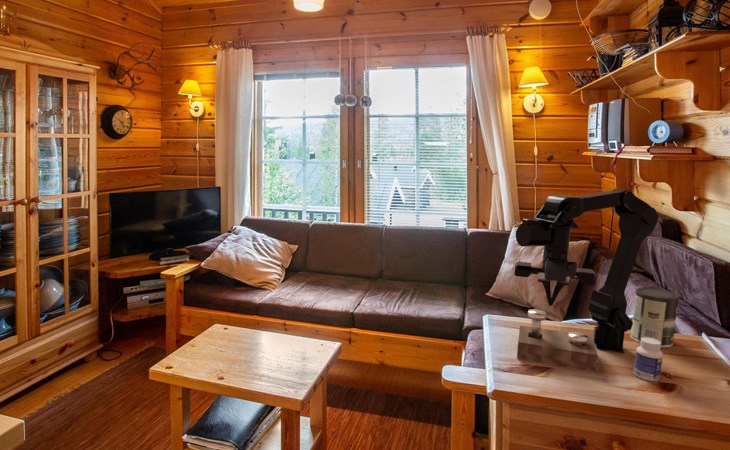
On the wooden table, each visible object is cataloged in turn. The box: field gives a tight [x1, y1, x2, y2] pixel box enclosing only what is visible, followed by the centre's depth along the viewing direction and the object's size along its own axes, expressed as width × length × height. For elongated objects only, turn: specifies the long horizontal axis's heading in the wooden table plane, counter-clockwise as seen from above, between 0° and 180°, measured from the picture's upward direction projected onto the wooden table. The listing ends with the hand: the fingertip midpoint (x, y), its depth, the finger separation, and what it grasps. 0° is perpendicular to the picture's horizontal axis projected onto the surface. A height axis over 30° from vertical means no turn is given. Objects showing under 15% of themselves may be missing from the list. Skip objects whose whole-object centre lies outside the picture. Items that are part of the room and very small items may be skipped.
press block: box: [516, 325, 599, 373], centre depth 112 cm, size 18×12×4 cm, turn 68°
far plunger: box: [527, 308, 547, 337], centre depth 113 cm, size 4×4×6 cm
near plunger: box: [568, 331, 589, 345], centre depth 110 cm, size 4×4×6 cm
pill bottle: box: [633, 337, 664, 382], centre depth 102 cm, size 5×5×9 cm
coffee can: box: [630, 287, 680, 349], centre depth 122 cm, size 10×10×14 cm
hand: (550, 305), depth 111 cm, fingers closed
